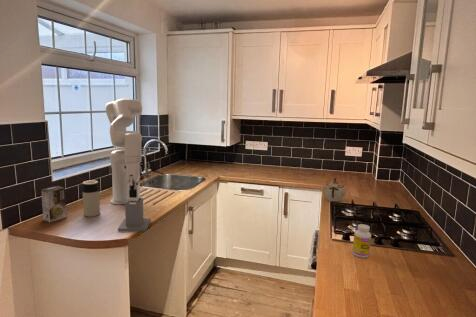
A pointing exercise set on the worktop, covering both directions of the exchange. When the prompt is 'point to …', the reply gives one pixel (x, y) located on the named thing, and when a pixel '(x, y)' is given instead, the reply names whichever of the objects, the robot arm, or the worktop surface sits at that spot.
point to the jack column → (136, 194)
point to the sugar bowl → (334, 191)
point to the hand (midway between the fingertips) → (134, 195)
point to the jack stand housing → (134, 217)
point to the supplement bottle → (362, 241)
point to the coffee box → (54, 203)
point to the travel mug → (91, 198)
